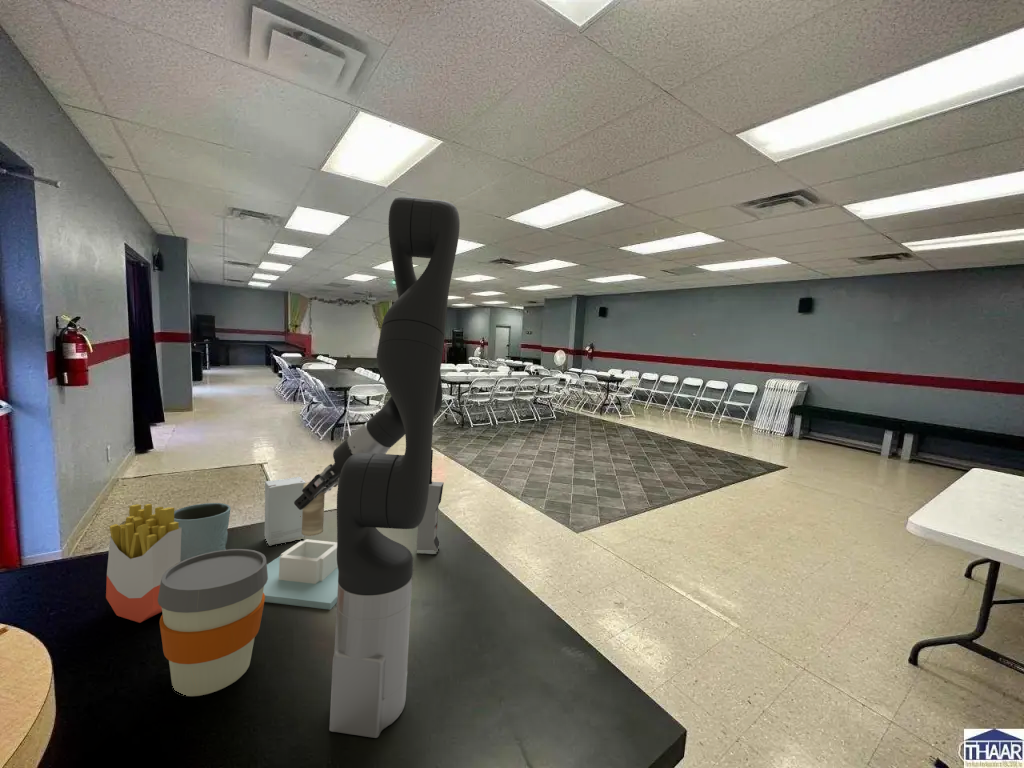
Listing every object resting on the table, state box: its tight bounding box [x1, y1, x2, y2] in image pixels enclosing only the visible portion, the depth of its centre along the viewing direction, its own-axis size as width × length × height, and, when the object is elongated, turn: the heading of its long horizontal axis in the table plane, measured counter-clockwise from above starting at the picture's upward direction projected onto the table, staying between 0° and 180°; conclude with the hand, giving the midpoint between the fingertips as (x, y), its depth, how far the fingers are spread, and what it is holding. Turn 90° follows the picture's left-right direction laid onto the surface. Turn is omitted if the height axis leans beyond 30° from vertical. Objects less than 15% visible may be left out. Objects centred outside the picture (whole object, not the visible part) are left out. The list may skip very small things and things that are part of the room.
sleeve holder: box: [263, 538, 338, 610], centre depth 86 cm, size 20×20×6 cm
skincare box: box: [264, 476, 307, 545], centre depth 102 cm, size 8×6×15 cm
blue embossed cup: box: [174, 502, 232, 562], centre depth 87 cm, size 10×10×12 cm
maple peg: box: [302, 481, 326, 537], centre depth 85 cm, size 4×4×10 cm
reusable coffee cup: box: [158, 548, 268, 697], centre depth 58 cm, size 12×13×15 cm
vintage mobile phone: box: [416, 449, 444, 551], centre depth 100 cm, size 4×5×25 cm
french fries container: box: [105, 503, 182, 624], centre depth 70 cm, size 5×11×18 cm, turn 74°
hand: (304, 502), depth 85 cm, fingers closed on maple peg, 4 cm apart
